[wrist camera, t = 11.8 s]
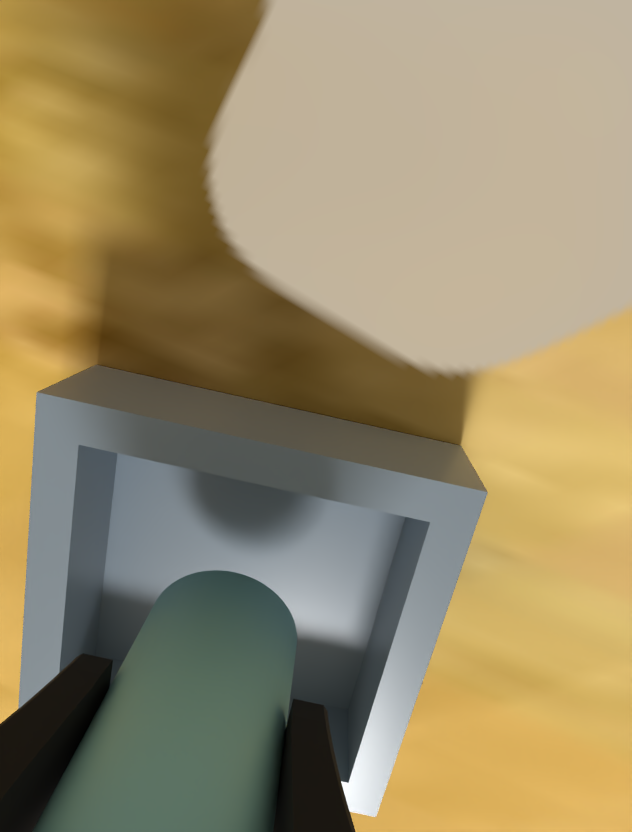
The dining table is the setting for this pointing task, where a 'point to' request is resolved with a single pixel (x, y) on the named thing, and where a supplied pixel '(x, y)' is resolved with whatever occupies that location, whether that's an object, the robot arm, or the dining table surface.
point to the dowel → (188, 718)
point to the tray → (248, 541)
